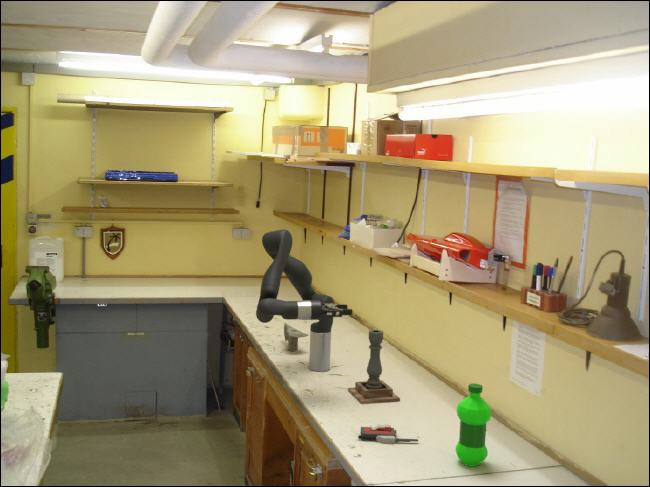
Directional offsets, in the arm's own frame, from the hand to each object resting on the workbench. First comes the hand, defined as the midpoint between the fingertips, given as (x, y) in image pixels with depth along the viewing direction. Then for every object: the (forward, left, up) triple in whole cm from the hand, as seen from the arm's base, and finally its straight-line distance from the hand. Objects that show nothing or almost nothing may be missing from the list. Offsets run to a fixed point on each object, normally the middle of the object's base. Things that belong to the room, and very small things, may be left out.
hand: (349, 309), depth 283 cm
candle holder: (+1, +11, -34) cm, 36 cm away
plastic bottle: (+67, +19, -35) cm, 78 cm away
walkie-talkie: (+43, 0, -36) cm, 56 cm away
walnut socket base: (+1, +11, -35) cm, 37 cm away
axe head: (-73, -4, -35) cm, 81 cm away
